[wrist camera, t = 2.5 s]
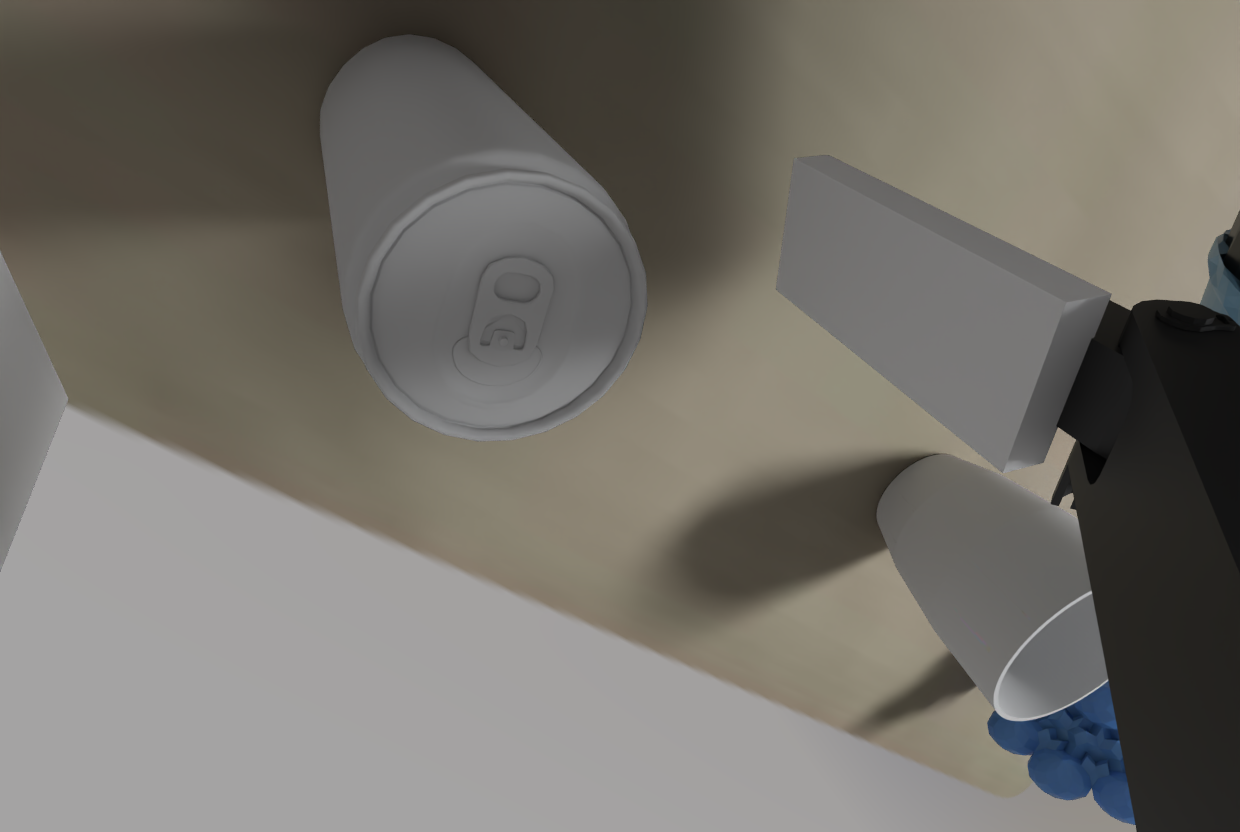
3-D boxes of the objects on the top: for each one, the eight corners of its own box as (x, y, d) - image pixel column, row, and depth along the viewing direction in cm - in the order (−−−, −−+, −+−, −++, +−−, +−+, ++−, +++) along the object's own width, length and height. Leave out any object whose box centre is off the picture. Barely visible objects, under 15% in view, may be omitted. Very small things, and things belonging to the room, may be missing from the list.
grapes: (1110, 573, 49) (1302, 733, 40) (1096, 633, 54) (1266, 791, 44) (953, 652, 48) (1113, 837, 39) (951, 707, 52) (1095, 887, 43)
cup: (888, 579, 41) (1027, 741, 33) (821, 513, 36) (966, 684, 29) (1010, 479, 40) (1185, 623, 32) (958, 396, 35) (1149, 542, 27)
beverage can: (307, 194, 21) (323, 438, 12) (331, 4, 19) (374, 122, 10) (478, 227, 23) (605, 458, 14) (518, 61, 21) (698, 202, 12)
